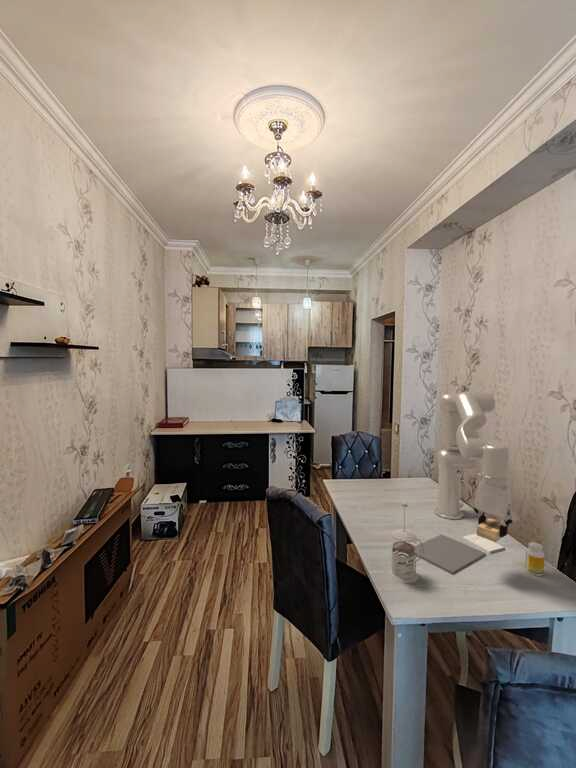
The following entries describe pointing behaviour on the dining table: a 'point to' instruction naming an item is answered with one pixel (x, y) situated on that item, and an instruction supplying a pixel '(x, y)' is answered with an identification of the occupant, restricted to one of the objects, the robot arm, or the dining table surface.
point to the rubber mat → (448, 553)
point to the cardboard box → (489, 529)
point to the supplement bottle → (535, 559)
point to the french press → (401, 568)
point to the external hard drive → (484, 543)
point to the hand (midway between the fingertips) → (492, 531)
